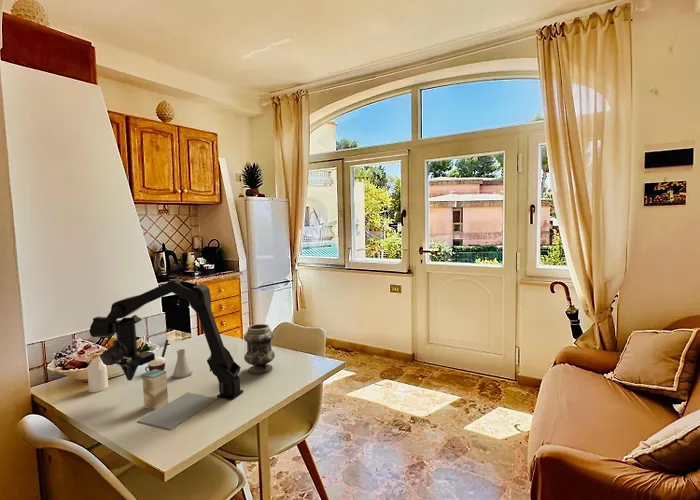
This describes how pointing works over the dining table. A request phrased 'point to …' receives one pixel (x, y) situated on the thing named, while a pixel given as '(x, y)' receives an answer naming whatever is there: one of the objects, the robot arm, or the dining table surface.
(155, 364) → the cocoa
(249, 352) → the apothecary jar
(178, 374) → the flask
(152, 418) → the slate pad
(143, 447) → the dining table surface
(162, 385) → the brown and teal block
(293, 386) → the dining table surface
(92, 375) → the white rounded block
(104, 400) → the dining table surface
